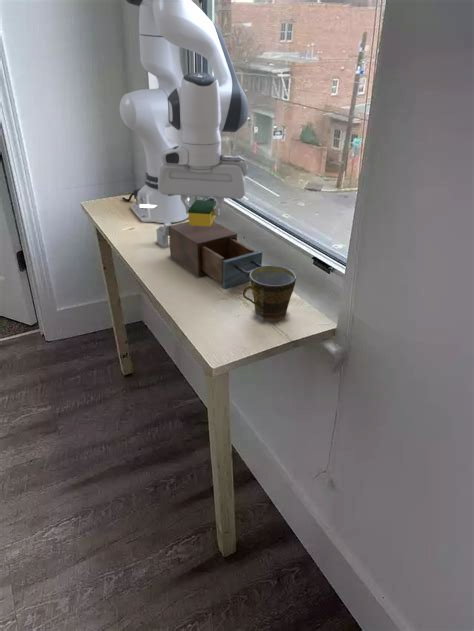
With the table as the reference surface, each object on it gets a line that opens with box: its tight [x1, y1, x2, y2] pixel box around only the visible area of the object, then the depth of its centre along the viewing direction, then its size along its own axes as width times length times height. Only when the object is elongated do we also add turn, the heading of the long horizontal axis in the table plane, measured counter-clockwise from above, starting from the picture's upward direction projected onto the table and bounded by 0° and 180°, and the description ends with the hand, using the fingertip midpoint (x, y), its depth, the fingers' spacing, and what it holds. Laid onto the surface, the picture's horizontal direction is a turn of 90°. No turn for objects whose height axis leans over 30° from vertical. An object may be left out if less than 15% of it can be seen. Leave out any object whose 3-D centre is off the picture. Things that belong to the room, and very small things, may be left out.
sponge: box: [188, 199, 217, 227], centre depth 120 cm, size 5×7×4 cm
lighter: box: [155, 222, 172, 248], centre depth 145 cm, size 7×2×8 cm, turn 33°
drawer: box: [200, 238, 263, 291], centre depth 126 cm, size 19×11×7 cm, turn 36°
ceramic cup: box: [242, 265, 297, 324], centre depth 111 cm, size 13×10×10 cm
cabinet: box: [168, 220, 238, 277], centre depth 136 cm, size 15×12×9 cm
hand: (202, 214), depth 120 cm, fingers closed on sponge, 5 cm apart
